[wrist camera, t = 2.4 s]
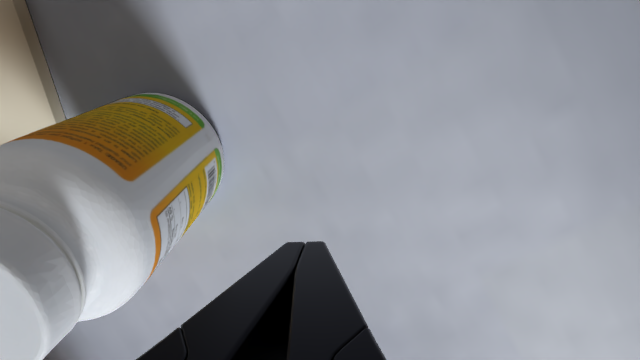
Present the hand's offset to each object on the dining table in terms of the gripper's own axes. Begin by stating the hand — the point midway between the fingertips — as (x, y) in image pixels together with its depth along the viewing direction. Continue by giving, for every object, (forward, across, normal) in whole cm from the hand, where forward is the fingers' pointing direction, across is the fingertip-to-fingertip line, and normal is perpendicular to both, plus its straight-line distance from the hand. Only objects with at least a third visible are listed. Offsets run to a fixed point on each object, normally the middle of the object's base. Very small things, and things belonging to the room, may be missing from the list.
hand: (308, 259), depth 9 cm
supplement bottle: (+8, +7, 0) cm, 11 cm away
